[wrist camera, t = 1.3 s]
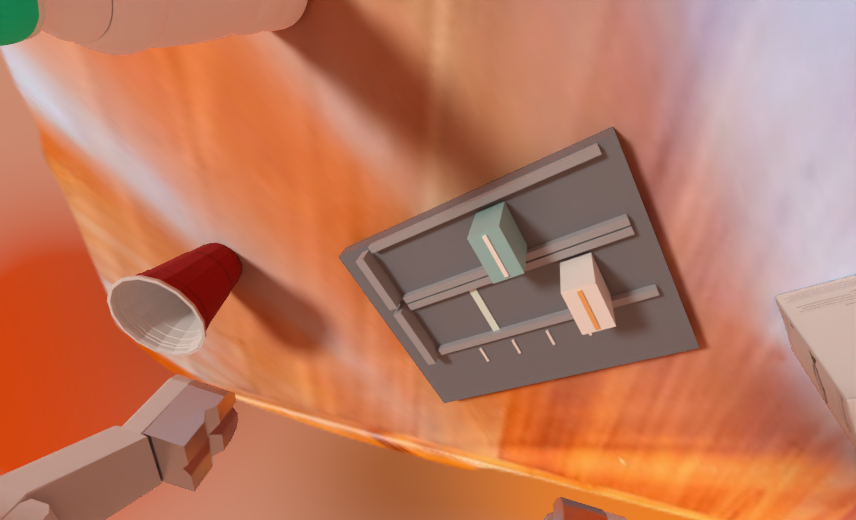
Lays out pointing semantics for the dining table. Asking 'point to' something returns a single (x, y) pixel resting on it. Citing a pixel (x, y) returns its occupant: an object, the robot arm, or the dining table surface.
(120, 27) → the water bottle
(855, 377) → the supplement box
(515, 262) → the fader
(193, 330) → the plastic cup
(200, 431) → the robot arm
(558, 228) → the console
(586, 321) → the fader
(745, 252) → the dining table surface
